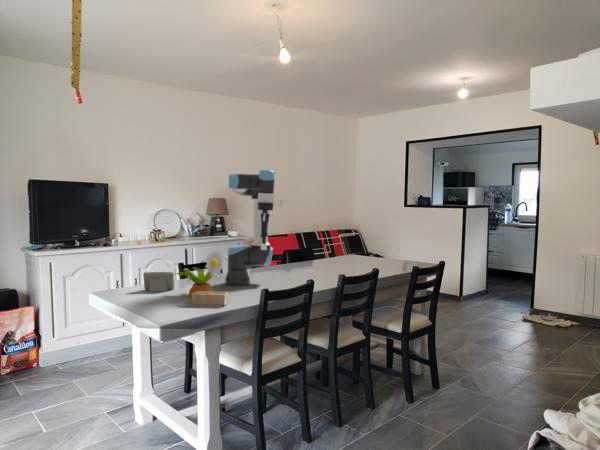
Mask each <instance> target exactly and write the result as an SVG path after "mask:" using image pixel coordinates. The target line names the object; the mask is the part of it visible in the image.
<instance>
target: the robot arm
mask: <svg viewBox="0 0 600 450" xmlns="http://www.w3.org/2000/svg"><path fill="white" fill-rule="evenodd" d="M275 178H276V177H275V171H274V170H271V169H269V170H268V169H267V170H266V169H260V170H259V172H258V174H256V173H254V174H252V173H249V174H248V173H230V174H229V175H228V188H229V189H231V190H232V191H233V193H235V194H238V195H239V196H246V197H251V201H253V242H251V243H250V246H249V245H248V244H235V245H231V246H229V247H228V249H227V273H226V275H225V279H224V284H225V285H226V286H232V287H233V286H234V287H235V286H237V287H238V286H240V287H241V286H248V285H250V284H251V278H250V276H249V272H248V267H268V266H270V265H271V264H272V259H273V249H274V248H273V247H272V246H271V243H270V242H269V221H270V213H269V211H273V210H274V203H273V202H274V198H275V195H274V194H275V192H274V191H275V190H274V189H275Z"/></svg>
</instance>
